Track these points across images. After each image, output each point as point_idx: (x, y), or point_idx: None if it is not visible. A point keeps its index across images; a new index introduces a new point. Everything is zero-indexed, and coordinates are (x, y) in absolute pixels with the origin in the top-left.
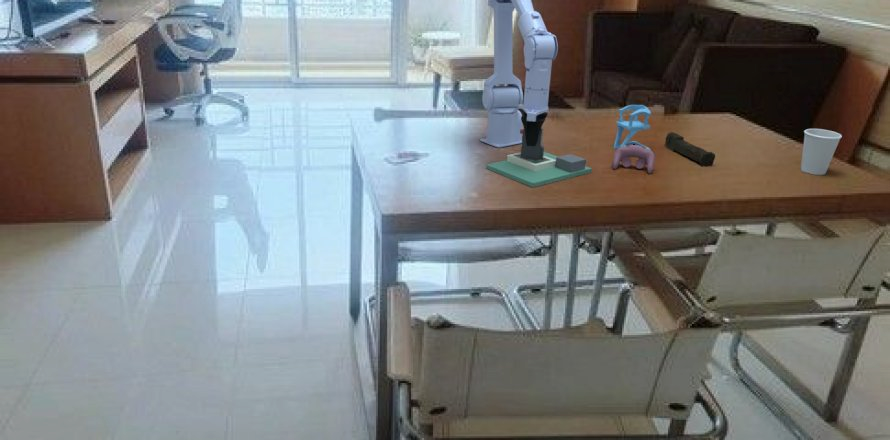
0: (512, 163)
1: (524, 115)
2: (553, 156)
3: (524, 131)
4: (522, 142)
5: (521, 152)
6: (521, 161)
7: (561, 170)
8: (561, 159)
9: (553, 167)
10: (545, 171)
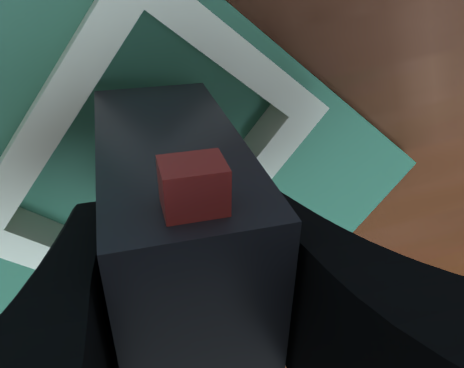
0: (75, 12)
1: (444, 356)
2: (339, 225)
3: (102, 261)
4: (97, 161)
5: (97, 114)
6: (31, 111)
7: None
8: None
9: None
10: (15, 266)
